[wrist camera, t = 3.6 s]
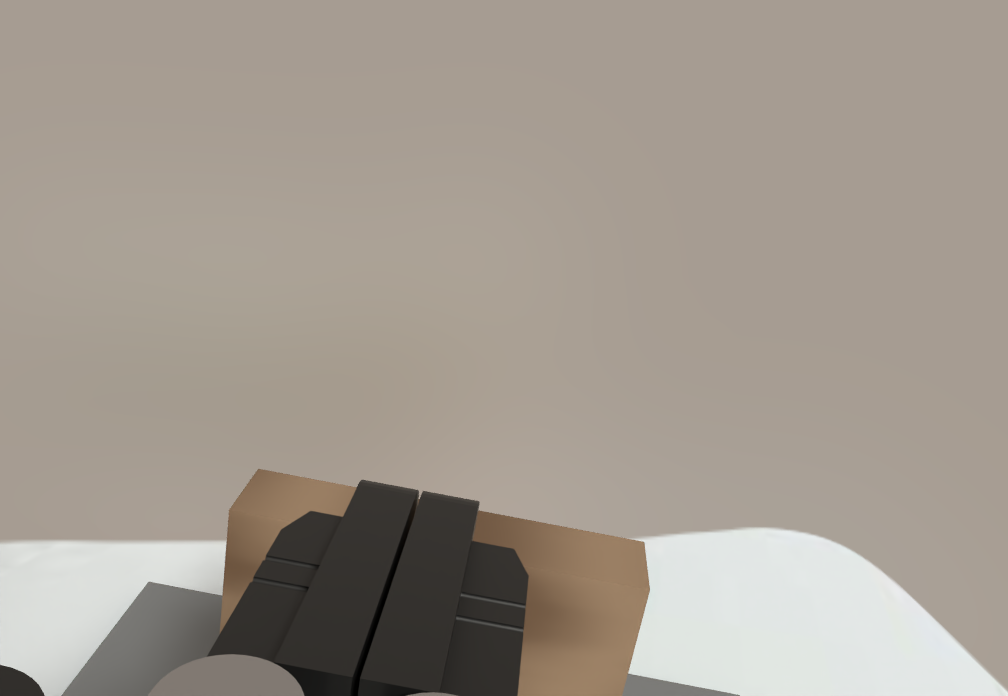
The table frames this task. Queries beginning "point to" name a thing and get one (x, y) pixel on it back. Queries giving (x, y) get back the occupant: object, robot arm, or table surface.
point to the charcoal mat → (209, 647)
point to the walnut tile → (544, 554)
